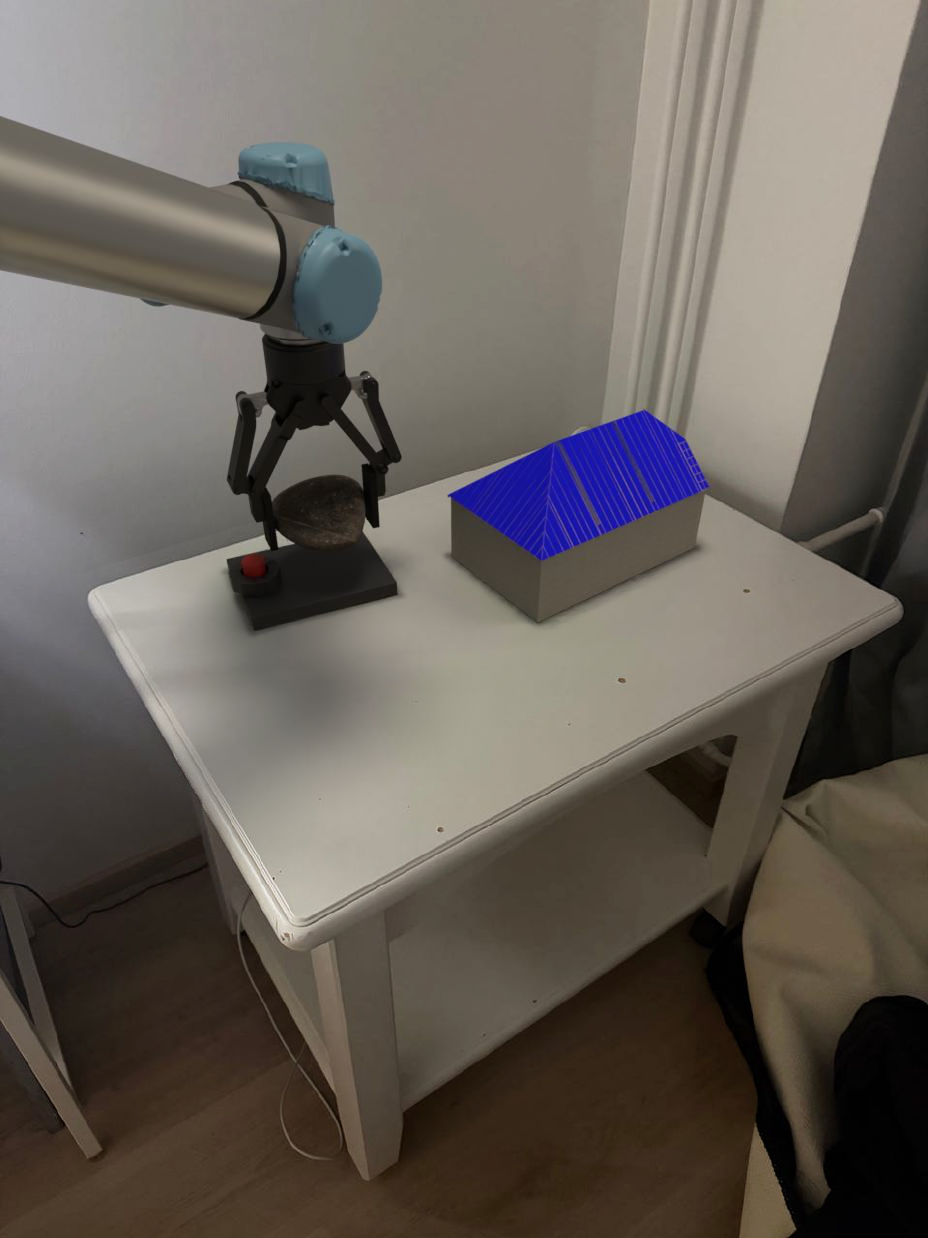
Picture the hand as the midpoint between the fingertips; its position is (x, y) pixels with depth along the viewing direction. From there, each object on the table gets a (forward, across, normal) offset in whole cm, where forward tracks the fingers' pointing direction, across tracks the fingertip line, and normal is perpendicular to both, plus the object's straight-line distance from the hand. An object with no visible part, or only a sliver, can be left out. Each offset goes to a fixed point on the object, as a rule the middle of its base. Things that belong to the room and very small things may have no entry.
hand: (322, 532), depth 96 cm
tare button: (+3, -8, 0) cm, 8 cm away
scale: (+6, -2, 0) cm, 6 cm away
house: (+6, +28, -6) cm, 30 cm away
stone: (+1, 0, 0) cm, 1 cm away
